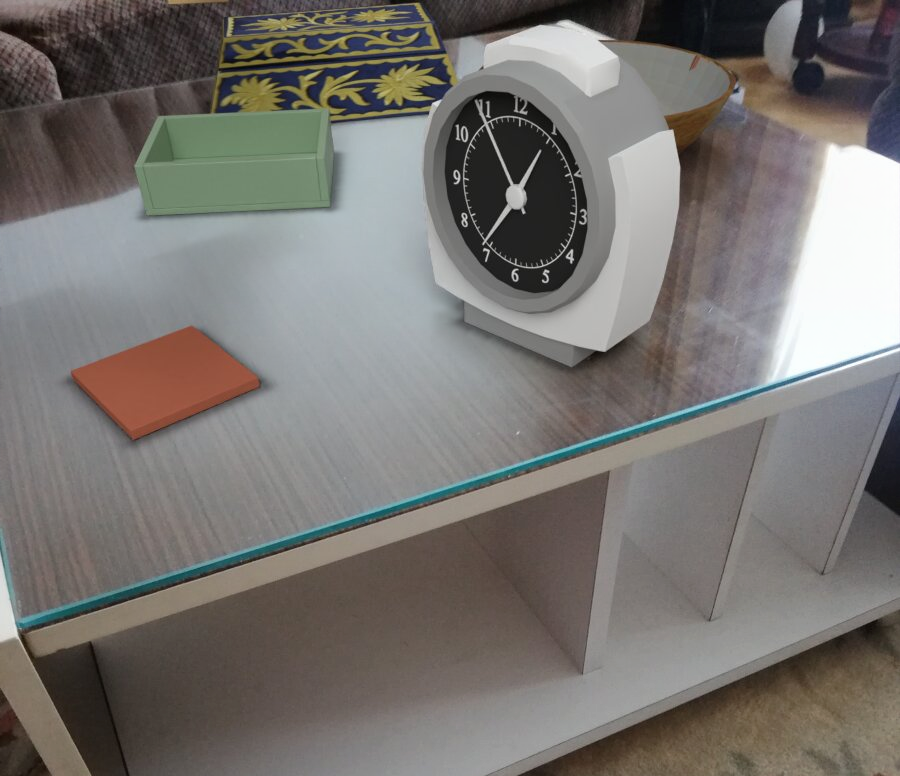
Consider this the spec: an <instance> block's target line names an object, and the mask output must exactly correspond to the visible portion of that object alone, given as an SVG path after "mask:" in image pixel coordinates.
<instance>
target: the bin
mask: <svg viewBox="0 0 900 776" xmlns="http://www.w3.org/2000/svg"><path fill="white" fill-rule="evenodd" d="M334 162H335V150H334V140H333V131H332V122H331V120H330V111H329V109H305V110H283V111H260V112H238V113H216V114H210V113H198V114H197V113H196V114H173V115H158V116H157V118H156V119H155V121H154V124H153V126H152V127H151V130H150V132H149V135H148V136H147V138H146V141H145V143H144V145H143V147H142V149H141V151H140V153H139V155H138V157H137V159H136V162H135V163H134V165H133V168H134V172H135V176H136V179H137V183H138V187H139V191H140V194H141V199H142V202H143V206H144V209H145V213H146V216H169V215H170V216H171V215H188V214H189V215H191V214H211V213H231V212H232V213H233V212H251V211H255V212H256V211H274V210H276V211H277V210H293V209H294V210H297V209H315V208H330V207H331V201H332V199H331V198H332V189H333V188H332V187H333V175H334Z"/></svg>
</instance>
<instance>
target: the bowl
mask: <svg viewBox="0 0 900 776" xmlns="http://www.w3.org/2000/svg"><path fill="white" fill-rule="evenodd" d="M597 40H598V41H599V42H601V43H602V44H603V45H604V46H605V47H607V48H608V49H609V50H611V51H613V52H615V53H616V54H618V55H619V56H620V57H621V58H622V59H624V60H625V61H626V62H627V63H629V64H630V65H631V66H632V67H633V68H635V69H636V70H637V71H638V72H639V74H640V75H641V77H642V78H643V79H644V81H645V82H646V84H647V85H648V86H649V88H650V89H651V90H652V92H653V93H654V95H655V96H656V98H657V101H658V103H659V105H660V108H661V110H662V113H663V115H664V118H665V120H666V122H667V125H668V127H669V130H673V132H674V138H675V143H676V148H677V153H678V155H680V154H681V153H682V152H683V151H684V150H686V149H687V148H688V147H690V145H692V144H693V143H694V142H695V141H696V140H697V139H698V138H699V137H700V136H701V135H702V134H703V133H704V132H705V131H706V130H707V128H708V127H709V126H710V125H711V124H712V123H713V122H714V121H715V119H716V118H717V116H718V115H719V113H720V112H721V111H722V110H723V108H724V106H725V105H726V103H727V102H728V101H729V99H730V97H731V95H732V94H733V92H734V90H735V87H736V84H737V81H736V78H735V75H734V73H732V71H731V70H730V69H729V68H728V67H727V66H725V65H724V64H722V63H721V62H719V61H717V60H716V59H713V58H711V57H709V56H706V55H704V54H702V53H698V52H695V51H692V50H688V49H684V48H681V47H676V46H673V45H672V46H671V45H666V44H661V43H654V42H653V43H652V42H646V41H637V40H636V41H635V40H620V39H597ZM482 69H484V64H483V65H482V66H481V67H480V68H479V69H478V70H477V71H479V70H482Z"/></svg>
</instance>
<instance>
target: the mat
mask: <svg viewBox="0 0 900 776" xmlns="http://www.w3.org/2000/svg"><path fill="white" fill-rule="evenodd" d="M70 374H71V377H72V380H73V381H74V382H75V383H76V385H78V386H79V387H80V388H81V389H82V390H83V391H84V392H85V393H86V395H88V396H89V397H90V398H91V399H92V400H93V401H94V402H95V403H96V404H97V406H99V407H100V408H101V409H102V410H103V411H104V413H106V415H107V416H109V417H110V419H112V420H113V421H114V422H115V424H117V425H118V426H119V427H120V428H121V429H122V430H123V431H124V432H125V433H126V435H128V436H129V437H130V438H131V439H132V440H133V441H135V440H137V439H139V438H142V437H144V436H147V435H148V434H151V433H153V432H156V431H158V430H161V429H163V428H165V427H168V426H170V425H173V424H175V423H177V422H180V421H181V420H184V419H186V418H189V417H191V416H193V415H196V414H198V413H201V412H204V411H205V410H208V409H210V408H213V407H215V406H217V405H220V404H223V403H224V402H227V401H229V400H232V399H234V398H236V397H238V396H241V395H243V394H246V393H248V392H251V391H253V390H256V389H258V388H260V380H259V377H258V375H256V374H254V373H253V372H252V371H251V370H250V369H249V368H247V367H246V366H245V365H244V364H242V363H241V362H239V361H238V360H237V359H235V358H234V357H233V356H232V355H231V354H229V353H228V352H227V351H225V350H224V349H223V348H221V347H220V346H219V345H218V344H216V343H215V342H214V341H213V340H211V339H210V338H209V337H207V336H206V335H205V334H204V333H202V332H201V331H200V330H198V329H197V328H196V327H195V326H194V325H192V324H191V325H189V326H186V327H183V328H181V329H178V330H175V331H173V332H170V333H168V334H165V335H161V336H160V337H157V338H154V339H151V340H149V341H146V342H144V343H141V344H138V345H135V346H132V347H130V348H128V349H125V350H123V351H120V352H117V353H114V354H112V355H109V356H106V357H103V358H101V359H99V360H95V361H92V362H91V363H87V364H85V365H82V366H79V367H76V368H74V369H71V370H70Z"/></svg>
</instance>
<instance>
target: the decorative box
mask: <svg viewBox="0 0 900 776" xmlns="http://www.w3.org/2000/svg"><path fill="white" fill-rule="evenodd" d="M216 59H217V60H216V66H215V73H214V78H213V79H214V80H213V86H212V92H211V97H210V98H211V99H210V107H209V109H210V110H209V114H216V113H238V112H260V111H283V110H305V109H329V111H330V120H331V123H339V122H340V123H341V122H352V121H353V122H354V121H361V120H374V119H385V118H386V119H387V118H397V117H406V116H407V117H408V116H417V115H429V113H430V109H431V106H432V103H434V102H436V101H439V100H441V99H443V97H444V95H445V93H446V92H447V91H448V90H449V89H450V88H452V87H453V86H454V85H455V84H456V83H457V82H458V81H459V80H458V78H457V75H456V73H455V70H454V67H453V66H452V65H453V64H452V62H451V59H450V58H449V54H448V52H447V50H446V47H445V44H444V42H443V39H442V37H441V34H440V31H439V30H438V26H437V24H436V21H435V19H434V18H433V17H432V15H431V14H430V12H429V11H428V10H427V8H426V7H425V6H424V4H423V3H422V1H418V2H404V3H390V4H378V5H377V4H376V5H365V6H364V5H363V6H354V7H353V6H351V7H336V8H323V9H312V10H310V9H309V10H299V11H297V10H296V11H286V12H271V13H259V14H246V15H244V14H243V15H231V16H223V21H222V28H221V34H220V40H219V47H218V52H217V58H216Z"/></svg>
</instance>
